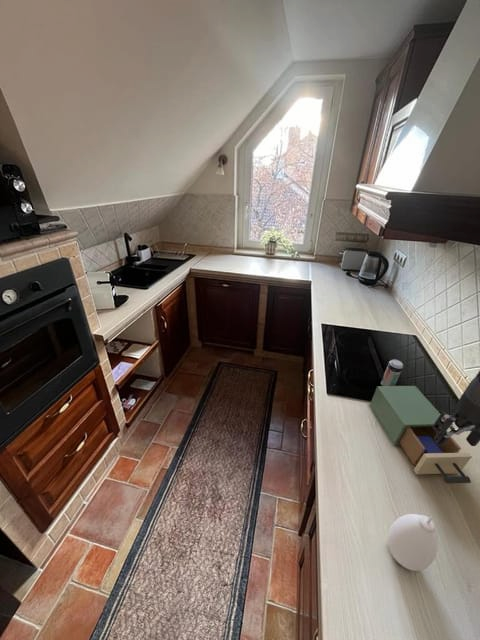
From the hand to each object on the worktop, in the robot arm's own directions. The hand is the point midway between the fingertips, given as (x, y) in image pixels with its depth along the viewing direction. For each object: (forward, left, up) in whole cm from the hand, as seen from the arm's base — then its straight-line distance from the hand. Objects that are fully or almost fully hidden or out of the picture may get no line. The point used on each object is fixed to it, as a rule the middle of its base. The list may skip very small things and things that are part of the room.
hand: (454, 443), depth 66 cm
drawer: (0, -4, -13) cm, 13 cm away
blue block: (0, -4, -12) cm, 12 cm away
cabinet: (0, -16, -14) cm, 21 cm away
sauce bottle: (+20, +18, -14) cm, 30 cm away
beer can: (-6, -34, -14) cm, 38 cm away
